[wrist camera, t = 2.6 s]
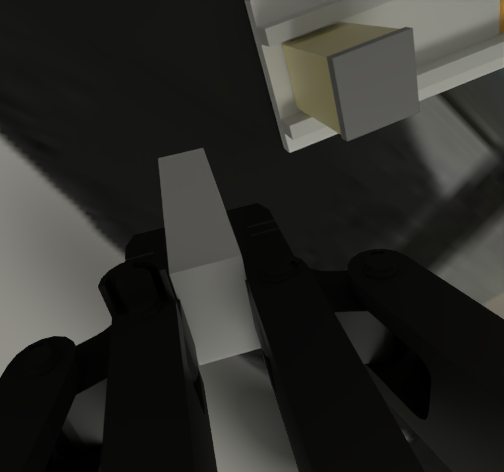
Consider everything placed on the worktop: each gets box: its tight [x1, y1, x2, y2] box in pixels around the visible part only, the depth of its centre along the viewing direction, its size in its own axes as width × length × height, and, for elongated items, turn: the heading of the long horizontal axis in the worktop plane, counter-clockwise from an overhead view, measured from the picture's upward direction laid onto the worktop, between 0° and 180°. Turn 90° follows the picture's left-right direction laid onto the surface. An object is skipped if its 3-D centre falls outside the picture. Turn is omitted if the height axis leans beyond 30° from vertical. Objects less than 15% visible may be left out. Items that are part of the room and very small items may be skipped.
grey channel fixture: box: [244, 0, 504, 153], centre depth 32 cm, size 12×28×10 cm, turn 107°
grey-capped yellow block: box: [282, 22, 420, 141], centre depth 31 cm, size 5×5×9 cm
